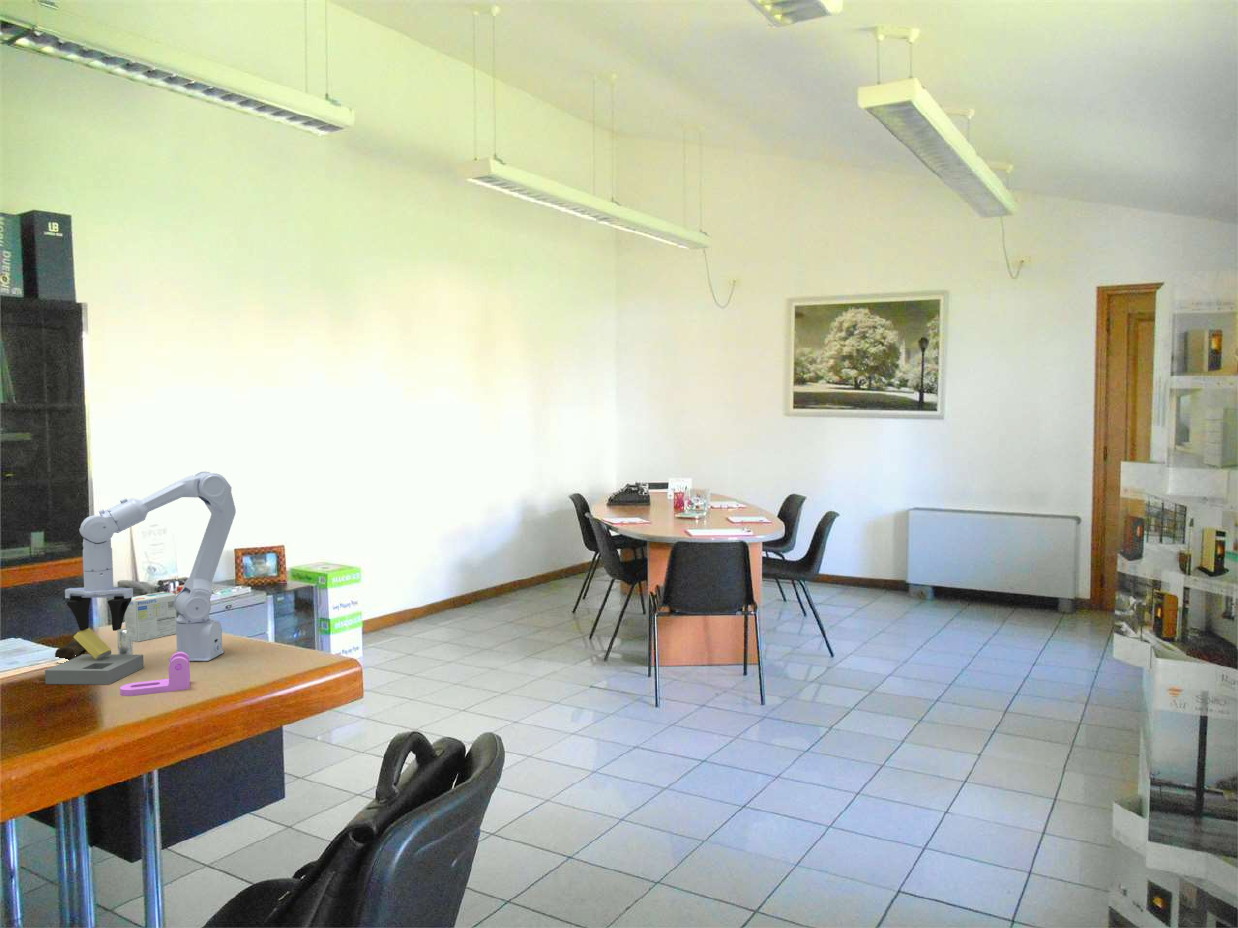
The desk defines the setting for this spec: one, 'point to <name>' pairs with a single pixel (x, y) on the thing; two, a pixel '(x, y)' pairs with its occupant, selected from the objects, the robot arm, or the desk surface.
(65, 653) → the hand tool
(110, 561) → the robot arm
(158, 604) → the light bulb box
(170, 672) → the bracket
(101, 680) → the plate
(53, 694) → the desk surface
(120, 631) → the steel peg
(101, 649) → the latch flap
